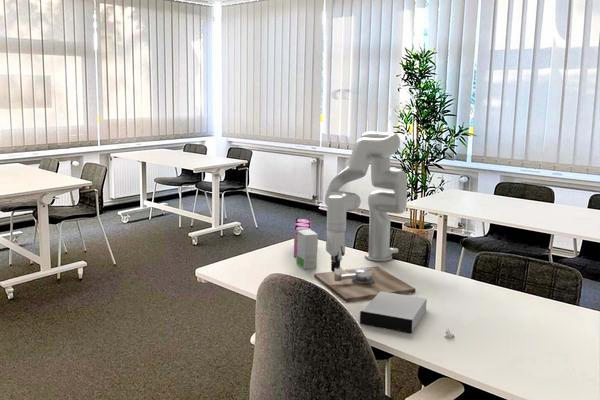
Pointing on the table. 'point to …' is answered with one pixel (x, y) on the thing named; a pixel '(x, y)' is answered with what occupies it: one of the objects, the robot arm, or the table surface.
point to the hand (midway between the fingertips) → (335, 270)
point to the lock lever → (359, 274)
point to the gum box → (299, 225)
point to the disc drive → (394, 312)
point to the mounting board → (364, 285)
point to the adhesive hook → (448, 333)
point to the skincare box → (307, 249)
